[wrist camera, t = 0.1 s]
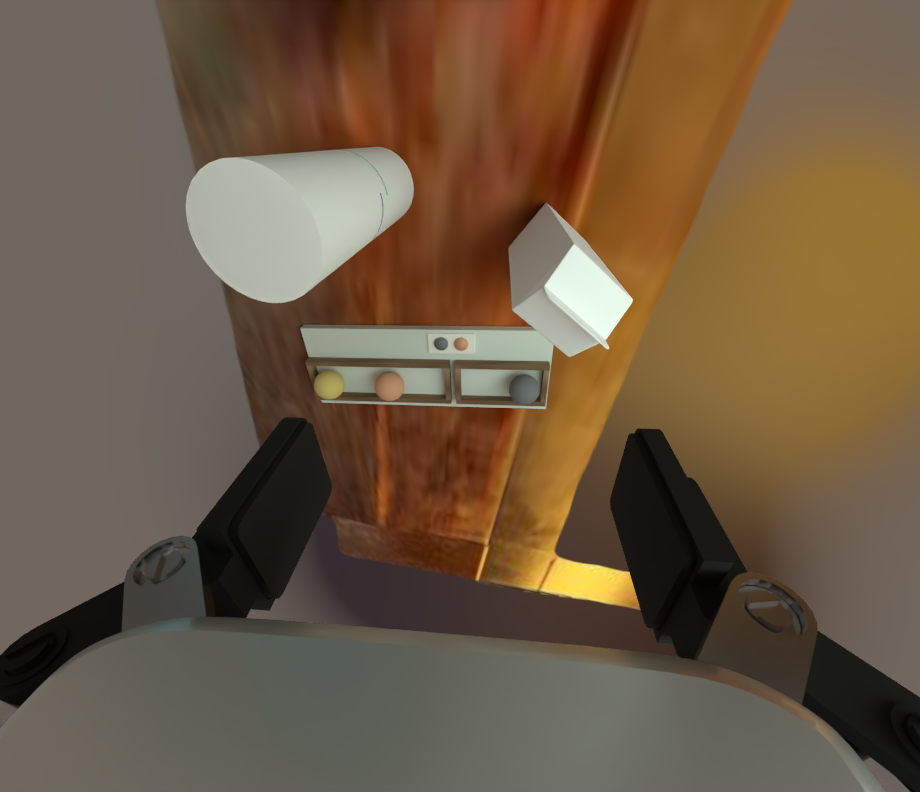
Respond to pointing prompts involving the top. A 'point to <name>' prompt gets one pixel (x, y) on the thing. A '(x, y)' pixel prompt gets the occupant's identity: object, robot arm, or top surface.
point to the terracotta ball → (389, 386)
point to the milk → (563, 285)
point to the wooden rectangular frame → (500, 366)
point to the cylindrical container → (293, 215)
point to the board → (429, 357)
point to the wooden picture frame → (384, 362)
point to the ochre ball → (329, 384)
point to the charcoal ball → (524, 389)
